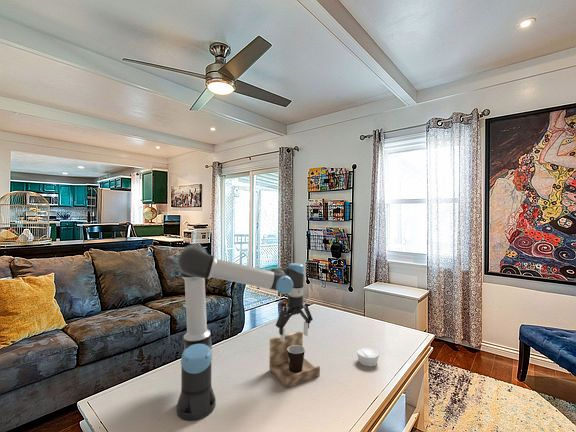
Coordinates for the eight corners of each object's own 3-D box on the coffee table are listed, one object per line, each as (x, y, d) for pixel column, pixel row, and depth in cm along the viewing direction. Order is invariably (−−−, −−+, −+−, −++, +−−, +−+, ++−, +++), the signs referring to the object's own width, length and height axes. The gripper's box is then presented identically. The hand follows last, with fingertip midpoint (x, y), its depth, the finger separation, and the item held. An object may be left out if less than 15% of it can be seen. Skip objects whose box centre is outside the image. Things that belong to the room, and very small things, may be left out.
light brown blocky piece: (286, 388, 129) (286, 353, 129) (269, 370, 143) (269, 338, 143) (319, 375, 139) (320, 343, 139) (300, 360, 153) (301, 330, 153)
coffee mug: (303, 375, 135) (303, 354, 135) (285, 373, 136) (285, 352, 136) (306, 362, 146) (306, 343, 146) (289, 360, 148) (289, 341, 148)
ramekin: (353, 362, 152) (353, 352, 152) (363, 354, 160) (363, 345, 160) (372, 370, 144) (372, 360, 144) (382, 362, 152) (382, 352, 152)
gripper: (277, 300, 130) (275, 346, 131) (320, 293, 143) (319, 335, 144) (269, 296, 137) (268, 340, 137) (311, 290, 150) (310, 330, 150)
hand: (294, 338), depth 140 cm, fingers open, 13 cm apart
